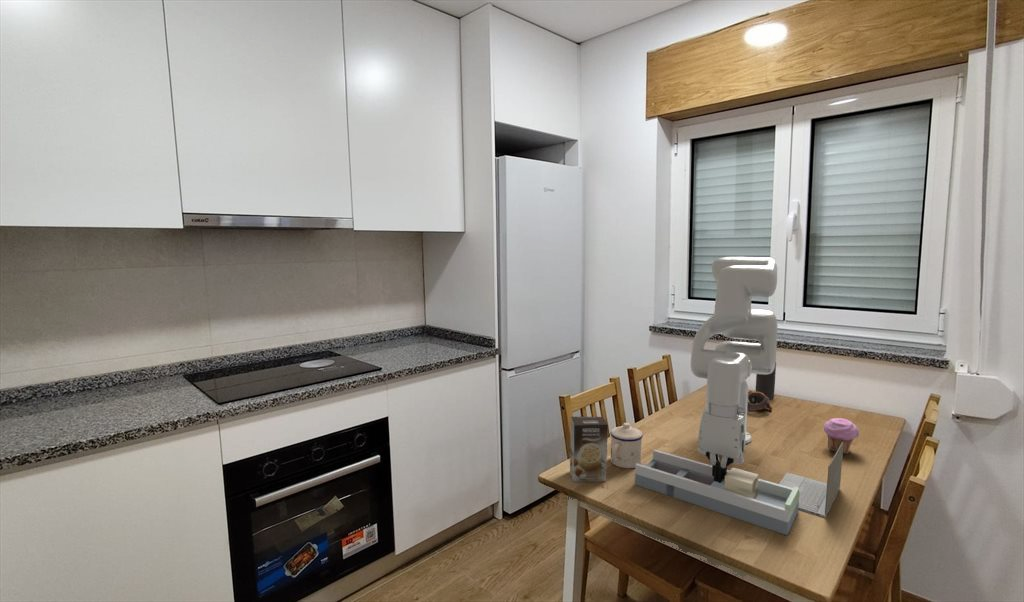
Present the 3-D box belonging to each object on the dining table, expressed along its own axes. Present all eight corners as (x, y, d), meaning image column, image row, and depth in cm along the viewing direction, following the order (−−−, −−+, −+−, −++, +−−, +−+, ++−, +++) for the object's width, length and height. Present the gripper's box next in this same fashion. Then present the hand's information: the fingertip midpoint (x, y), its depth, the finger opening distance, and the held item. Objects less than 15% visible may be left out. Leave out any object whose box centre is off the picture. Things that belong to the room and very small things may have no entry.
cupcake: (819, 451, 151) (821, 419, 149) (825, 442, 157) (827, 411, 156) (854, 459, 145) (857, 426, 143) (859, 450, 151) (862, 418, 150)
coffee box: (573, 482, 133) (573, 425, 131) (569, 471, 139) (569, 416, 137) (607, 481, 133) (608, 424, 131) (602, 470, 139) (602, 415, 137)
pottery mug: (779, 415, 182) (774, 399, 179) (755, 426, 183) (750, 410, 179) (760, 397, 193) (755, 381, 190) (737, 408, 194) (732, 392, 190)
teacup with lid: (619, 452, 151) (620, 415, 149) (647, 461, 145) (648, 423, 143) (598, 466, 142) (599, 427, 140) (627, 476, 136) (628, 435, 134)
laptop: (786, 474, 137) (789, 429, 135) (840, 489, 128) (844, 441, 127) (767, 500, 123) (770, 450, 122) (826, 519, 115) (830, 466, 113)
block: (731, 486, 124) (732, 467, 123) (757, 493, 120) (758, 474, 120) (724, 495, 119) (724, 476, 119) (750, 504, 116) (751, 483, 115)
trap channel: (654, 468, 141) (654, 446, 140) (798, 511, 118) (799, 486, 117) (635, 484, 131) (635, 461, 131) (787, 535, 109) (789, 507, 108)
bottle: (758, 400, 198) (761, 350, 195) (752, 394, 204) (755, 347, 202) (776, 400, 196) (779, 351, 194) (770, 395, 203) (773, 347, 201)
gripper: (759, 411, 119) (755, 483, 121) (697, 398, 128) (694, 466, 130) (751, 420, 113) (746, 496, 115) (686, 406, 122) (683, 476, 125)
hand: (719, 479), depth 123 cm, fingers closed
